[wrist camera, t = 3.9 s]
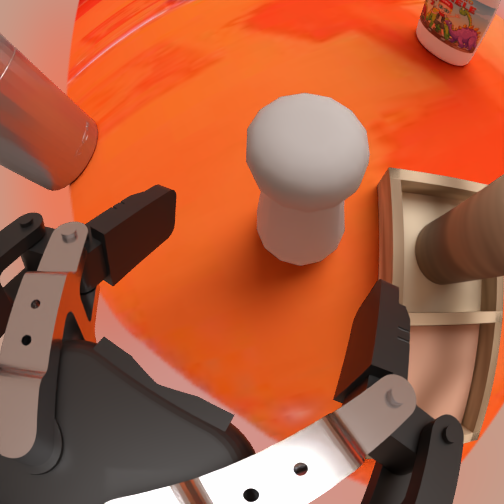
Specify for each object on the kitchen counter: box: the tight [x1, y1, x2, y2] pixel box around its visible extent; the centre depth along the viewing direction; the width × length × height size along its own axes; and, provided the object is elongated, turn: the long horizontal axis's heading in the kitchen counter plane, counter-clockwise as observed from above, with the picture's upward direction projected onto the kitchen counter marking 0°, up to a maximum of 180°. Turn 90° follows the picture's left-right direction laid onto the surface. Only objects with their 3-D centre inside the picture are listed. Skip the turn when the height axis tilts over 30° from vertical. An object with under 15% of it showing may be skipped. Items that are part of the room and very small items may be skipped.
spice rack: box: [365, 168, 504, 459], centre depth 17 cm, size 10×20×3 cm, turn 175°
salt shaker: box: [246, 93, 369, 266], centre depth 15 cm, size 6×6×13 cm
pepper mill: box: [415, 174, 504, 285], centre depth 12 cm, size 5×5×12 cm
